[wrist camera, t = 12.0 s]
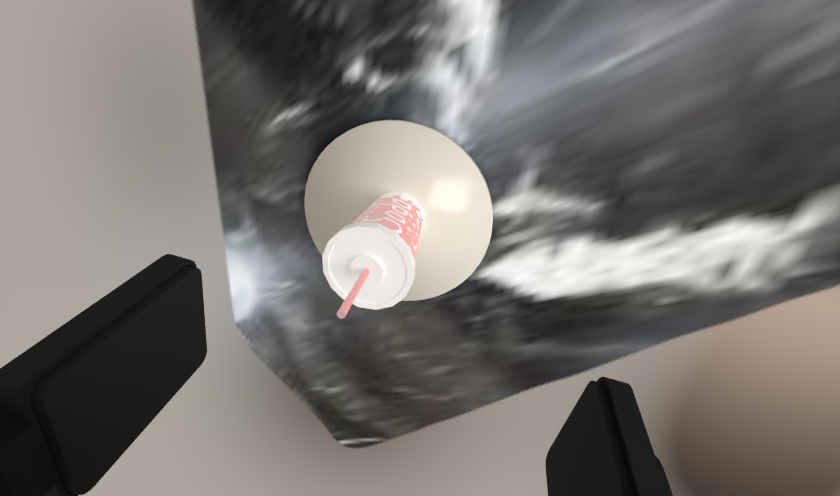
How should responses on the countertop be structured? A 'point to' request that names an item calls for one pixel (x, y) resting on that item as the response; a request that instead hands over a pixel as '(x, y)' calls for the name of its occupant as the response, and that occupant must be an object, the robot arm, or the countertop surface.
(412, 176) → the dish
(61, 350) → the robot arm
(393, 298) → the beverage cup
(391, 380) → the countertop surface
